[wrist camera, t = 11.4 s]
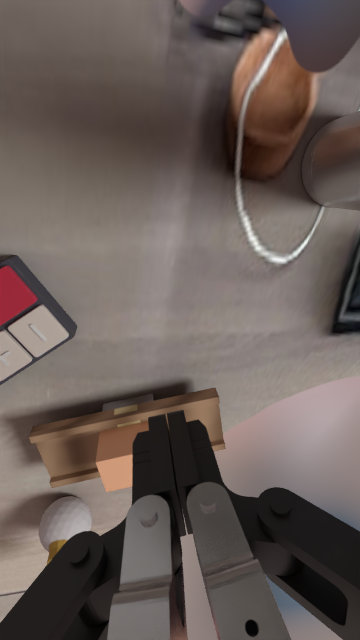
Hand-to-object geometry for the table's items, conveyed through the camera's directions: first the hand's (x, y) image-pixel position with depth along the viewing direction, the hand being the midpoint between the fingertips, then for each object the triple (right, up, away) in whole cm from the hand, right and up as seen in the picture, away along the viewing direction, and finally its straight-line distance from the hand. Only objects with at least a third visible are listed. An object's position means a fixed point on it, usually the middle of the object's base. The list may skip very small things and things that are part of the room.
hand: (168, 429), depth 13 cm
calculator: (-21, +4, +25) cm, 33 cm away
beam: (-6, -10, +33) cm, 35 cm away
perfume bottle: (-17, -26, +38) cm, 49 cm away
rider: (-6, -11, +29) cm, 32 cm away
